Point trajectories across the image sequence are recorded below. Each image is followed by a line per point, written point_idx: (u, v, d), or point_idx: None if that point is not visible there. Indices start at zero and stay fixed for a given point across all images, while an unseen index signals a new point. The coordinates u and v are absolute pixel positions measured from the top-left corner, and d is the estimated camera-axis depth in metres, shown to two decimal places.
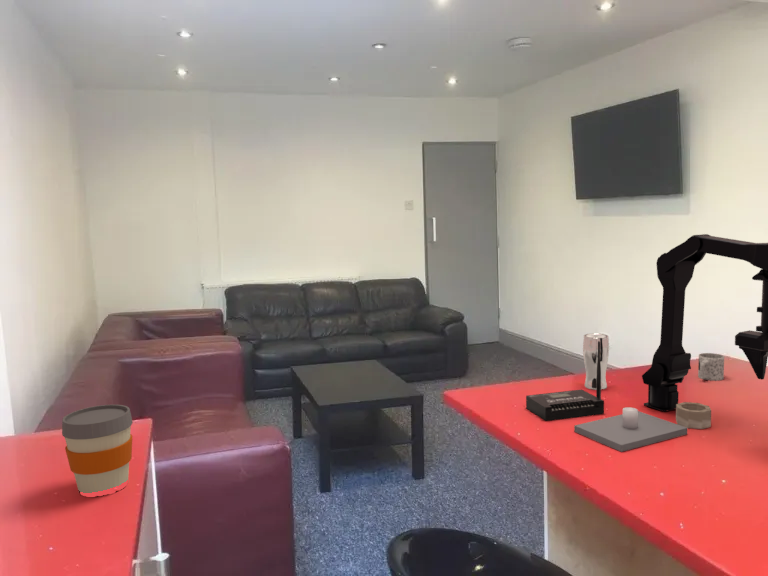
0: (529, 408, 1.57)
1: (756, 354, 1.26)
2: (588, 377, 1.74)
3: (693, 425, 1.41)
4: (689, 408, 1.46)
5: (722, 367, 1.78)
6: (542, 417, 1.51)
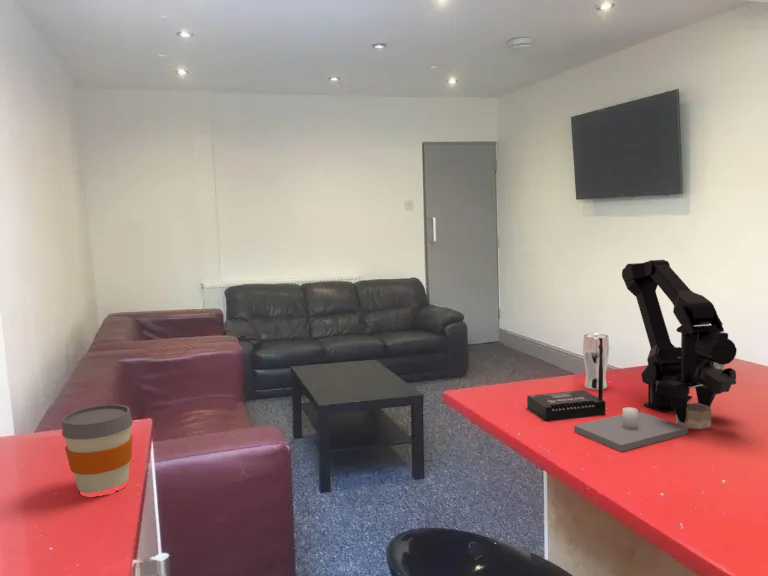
0: (530, 408, 1.57)
1: (677, 400, 1.41)
2: (588, 377, 1.74)
3: (693, 425, 1.41)
4: (689, 408, 1.46)
5: (722, 367, 1.78)
6: (542, 417, 1.50)
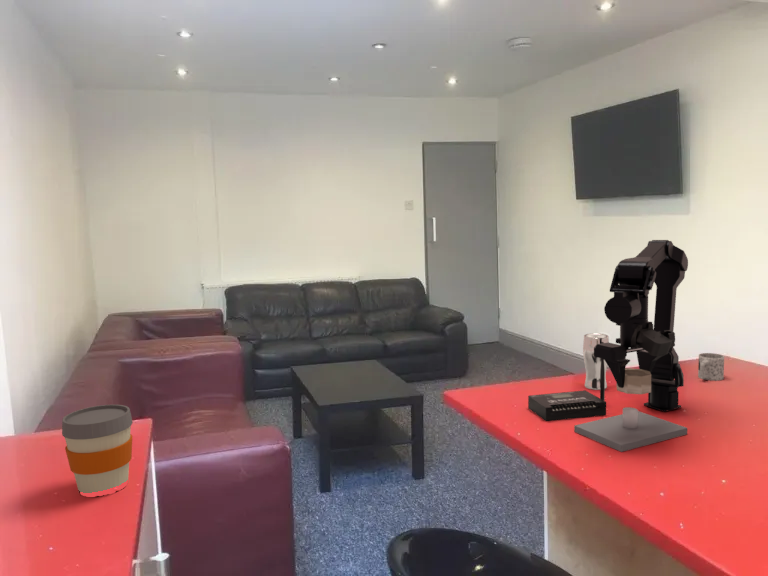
0: (531, 408, 1.57)
1: (616, 364, 1.35)
2: (588, 377, 1.74)
3: (632, 390, 1.35)
4: (630, 374, 1.40)
5: (722, 367, 1.78)
6: (543, 417, 1.50)
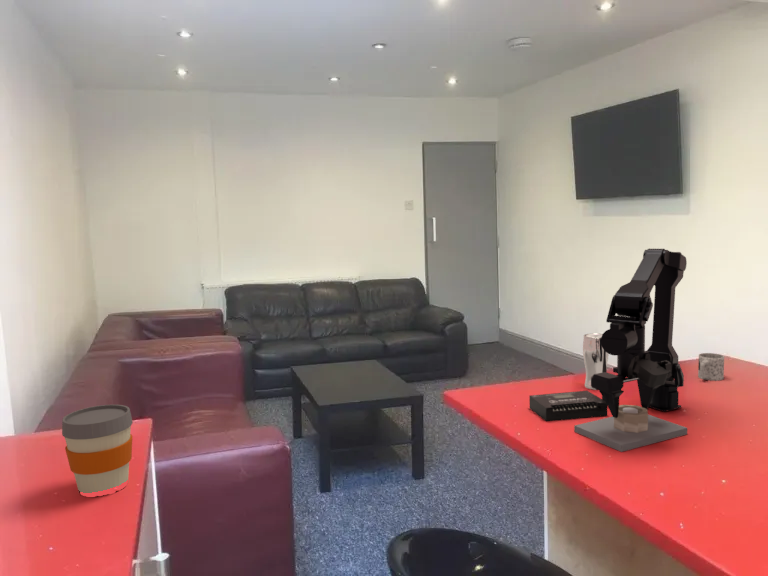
0: (532, 408, 1.57)
1: (610, 394, 1.36)
2: (588, 377, 1.74)
3: (629, 428, 1.36)
4: None
5: (722, 367, 1.78)
6: (543, 417, 1.50)
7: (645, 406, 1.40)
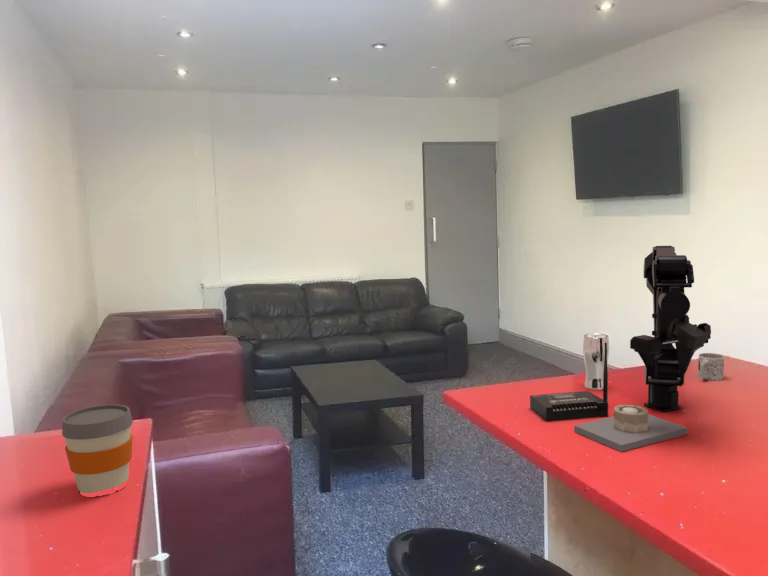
0: (532, 408, 1.57)
1: (649, 356, 1.39)
2: (588, 377, 1.74)
3: (629, 428, 1.36)
4: None
5: (722, 367, 1.78)
6: (543, 417, 1.50)
7: (683, 369, 1.43)
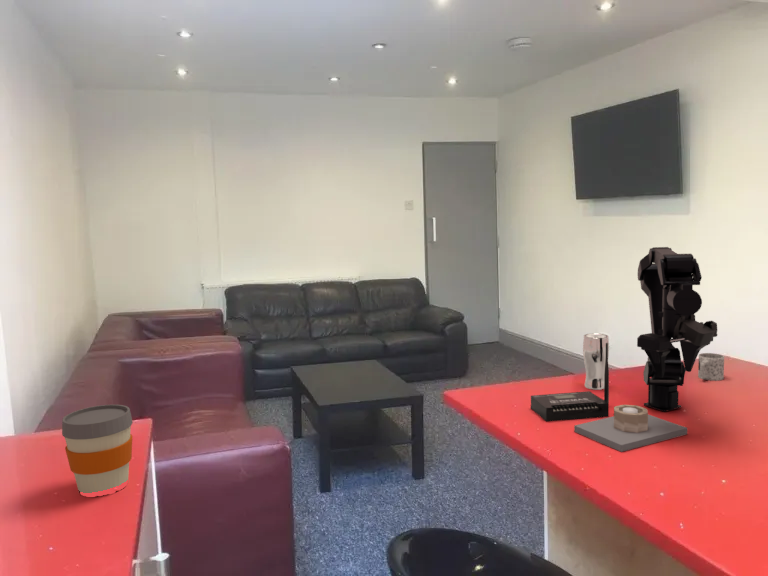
0: (533, 408, 1.57)
1: (656, 354, 1.40)
2: (588, 377, 1.74)
3: (629, 428, 1.36)
4: None
5: (722, 367, 1.78)
6: (543, 417, 1.50)
7: (689, 367, 1.44)
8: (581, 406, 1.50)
